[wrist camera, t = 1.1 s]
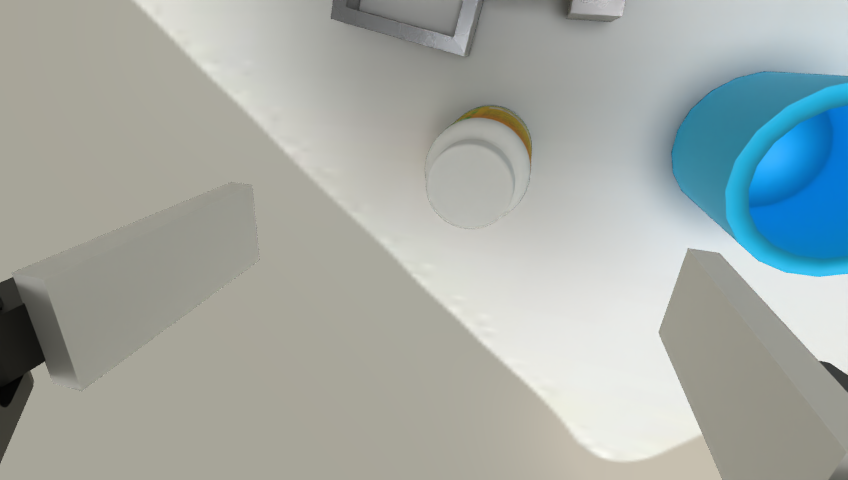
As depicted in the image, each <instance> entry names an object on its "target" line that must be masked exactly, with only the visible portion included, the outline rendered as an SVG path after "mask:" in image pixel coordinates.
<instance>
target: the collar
mask: <svg viewBox="0 0 848 480" xmlns="http://www.w3.org/2000/svg"><path fill="white" fill-rule="evenodd" d="M483 1H484V0H463V3H462V7H461V11H460V15H459V19H458V23H457V27H456V31H455V35H454V37H451V36H448V35H444V34H441V33H437V32H433V31H430V30H426V29H423V28H419V27H415V26H412V25H408V24H405V23H401V22H398V21H394V20H390V19H387V18H383V17H380V16H376V15H372V14H369V13H365V12H362V11H358V10H359V3H360V0H333V6H332V13H331V19H334V20H337V21H341V22H344V23H348V24H351V25H355V26H358V27H362V28H365V29H369V30H372V31H376V32H380V33H383V34H387V35H390V36H394V37H397V38H401V39H404V40H408V41H411V42H415V43H418V44H422V45H425V46H429V47H433V48H436V49H440V50H443V51H447V52H450V53H454V54H457V55H461V56H469V52H470V49H471V45H472V41H473V38H474V34H475V30H476V27H477V23H478V19H479V16H480V12H481V8H482V5H483Z"/></svg>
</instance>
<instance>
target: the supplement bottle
mask: <svg viewBox="0 0 848 480" xmlns="http://www.w3.org/2000/svg"><path fill="white" fill-rule="evenodd" d="M531 153H532V143H531V137H530V133H529V131H528V129H527V127H526V125H525V124H524V122H523V121H522V120H521V119H520V118H519V117H518V116H517V115H516V114H515V113H513V112H512V111H510V110H508V109H506V108H503V107H499V106H481V107H478V108H475V109H473V110H470V111H469V112H467V113H465V114H464V115H463V116H461V117H460V118H459V119H458V120H457V121H455V122H454V123H453V124H452V125H450V126H449V127H448V128H446V129H445V130H444V131H443V132H442V133H441V134H440V135H439V136H438V137H437V139H436V140H435V141H434V143H433V144H432V146H431V148H430V150H429V152H428V155H427V158H426V164H425V178H426V190H427V196H428V199H429V202H430V204H431V206H432V207H433V209H434V210H435V212H436V213H437V214H438V215H439V216H440V217H441V218H442V219H443V220H445V221H446V222H448V223H450V224H452V225H454V226H457V227H460V228H465V229H476V228H482V227H485V226H488V225H490V224H492V223H494V222H495V221H497V220H498V219H499V218H500V217H502V216H504V215H506V214H507V213H509V212H510V211H511V210H512V209H513V208H515V207H516V205H517V204H518V203H519V202H520V201H521V199H522V197H523V196H524V194H525V192H526V189H527V187H528V183H529V179H530V172H531Z"/></svg>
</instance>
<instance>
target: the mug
mask: <svg viewBox="0 0 848 480" xmlns="http://www.w3.org/2000/svg"><path fill="white" fill-rule="evenodd" d="M671 153H672V166H673V174H674V176H675V178H676V180H677V182H678V184H679V186H680V188H681V190H682V192H684V193H685V194H686V195H687V196H688V197H689V198H690V199H691V200H692V201H693V202H694V203H696V204H697V205H698V206H699V207H700V208H701V209H702V210H703V211H704V212H705V213H706V214H708V215H709V216H710V217H711V218H712V219H713V220H714V221H715V222H716V223H717V224H719V225H720V226H721V227H722V228H723V229H724V230H725V231H726V232H727V233H728V234H729V235H731V236H732V237H733V238H734V239H735V240H736V241H737V242H738V243H739V244H740V245H741V246H743V247H744V248H745V249H746V250H747V251H748V252H749V253H750V254H751V255H752V256H753V257H755V258H756V259H757V260H758V261H760V262H762V263H765V264H767V265H769V266H772V267H774V268H776V269H779V270H781V271H783V272H786V273H794V274H802V275H809V276H817V277H821V276H830V275H840V274H848V76H837V75H820V74H804V73H786V72H766V71H764V72H759V73H755V74H751V75H747V76H742V77H738V78H735V79H733V80H732V81H730V82H728V83H726V84H724V85H722V86H720V87H718V88H716V89H714V90H713V91H711V92H710V93H709V94H708V95H706V96H705V97H704V98H703V99H702V100H701V101H700V102H699V103H698V104H696V105H695V106H694V107H693V108H692V109H691V110H690V112H689V113H688V115H687V116H686V118H685V120H684V121H683V123H682V124H681V126H680V127H679V129H678V131H677V134H676V138H675V141H674V145H673V149H672V152H671Z"/></svg>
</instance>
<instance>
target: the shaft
mask: <svg viewBox="0 0 848 480" xmlns="http://www.w3.org/2000/svg"><path fill="white" fill-rule="evenodd" d="M625 1H626V0H570V1H569V6H568V12H567V17H566V19H578V20H594V21H609V22H611V21H613V20H615V19H617V18H619V17H621V16H622V14H623V9H624V5H625Z"/></svg>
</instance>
